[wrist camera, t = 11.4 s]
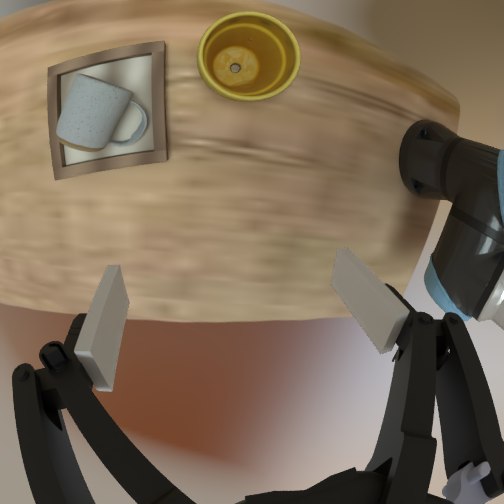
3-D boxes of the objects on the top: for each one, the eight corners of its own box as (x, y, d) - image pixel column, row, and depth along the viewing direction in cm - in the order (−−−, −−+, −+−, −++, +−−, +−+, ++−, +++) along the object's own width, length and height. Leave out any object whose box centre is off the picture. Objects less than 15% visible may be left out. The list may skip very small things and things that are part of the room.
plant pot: (258, 115, 33) (282, 115, 25) (183, 92, 30) (182, 83, 21) (283, 50, 29) (314, 34, 21) (211, 25, 26) (220, -2, 17)
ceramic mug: (66, 133, 27) (40, 140, 20) (90, 76, 24) (68, 68, 18) (132, 158, 31) (120, 170, 25) (160, 100, 29) (154, 96, 22)
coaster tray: (165, 44, 26) (164, 40, 24) (167, 159, 33) (166, 161, 32) (54, 69, 23) (47, 67, 21) (61, 176, 30) (54, 180, 28)
